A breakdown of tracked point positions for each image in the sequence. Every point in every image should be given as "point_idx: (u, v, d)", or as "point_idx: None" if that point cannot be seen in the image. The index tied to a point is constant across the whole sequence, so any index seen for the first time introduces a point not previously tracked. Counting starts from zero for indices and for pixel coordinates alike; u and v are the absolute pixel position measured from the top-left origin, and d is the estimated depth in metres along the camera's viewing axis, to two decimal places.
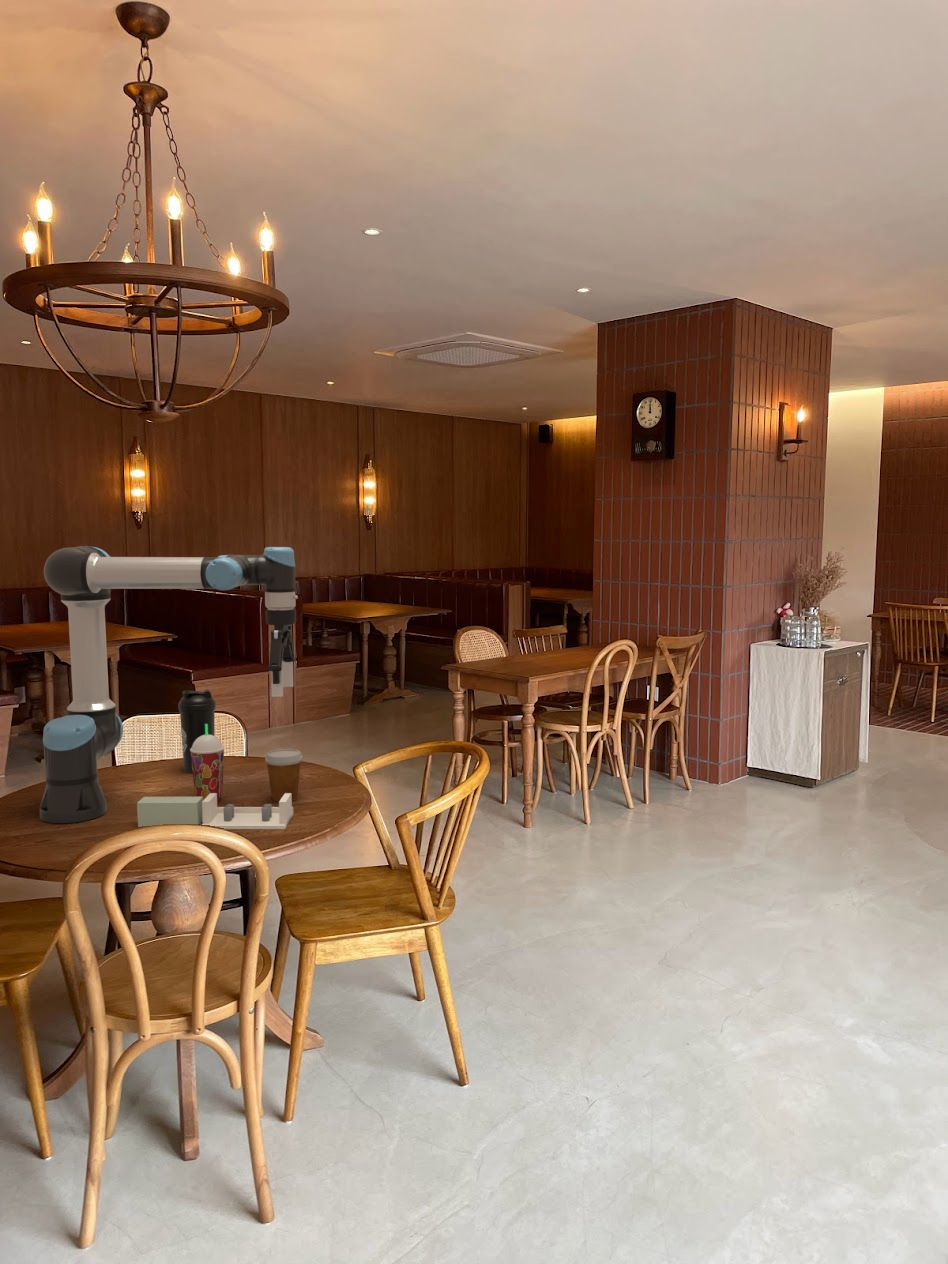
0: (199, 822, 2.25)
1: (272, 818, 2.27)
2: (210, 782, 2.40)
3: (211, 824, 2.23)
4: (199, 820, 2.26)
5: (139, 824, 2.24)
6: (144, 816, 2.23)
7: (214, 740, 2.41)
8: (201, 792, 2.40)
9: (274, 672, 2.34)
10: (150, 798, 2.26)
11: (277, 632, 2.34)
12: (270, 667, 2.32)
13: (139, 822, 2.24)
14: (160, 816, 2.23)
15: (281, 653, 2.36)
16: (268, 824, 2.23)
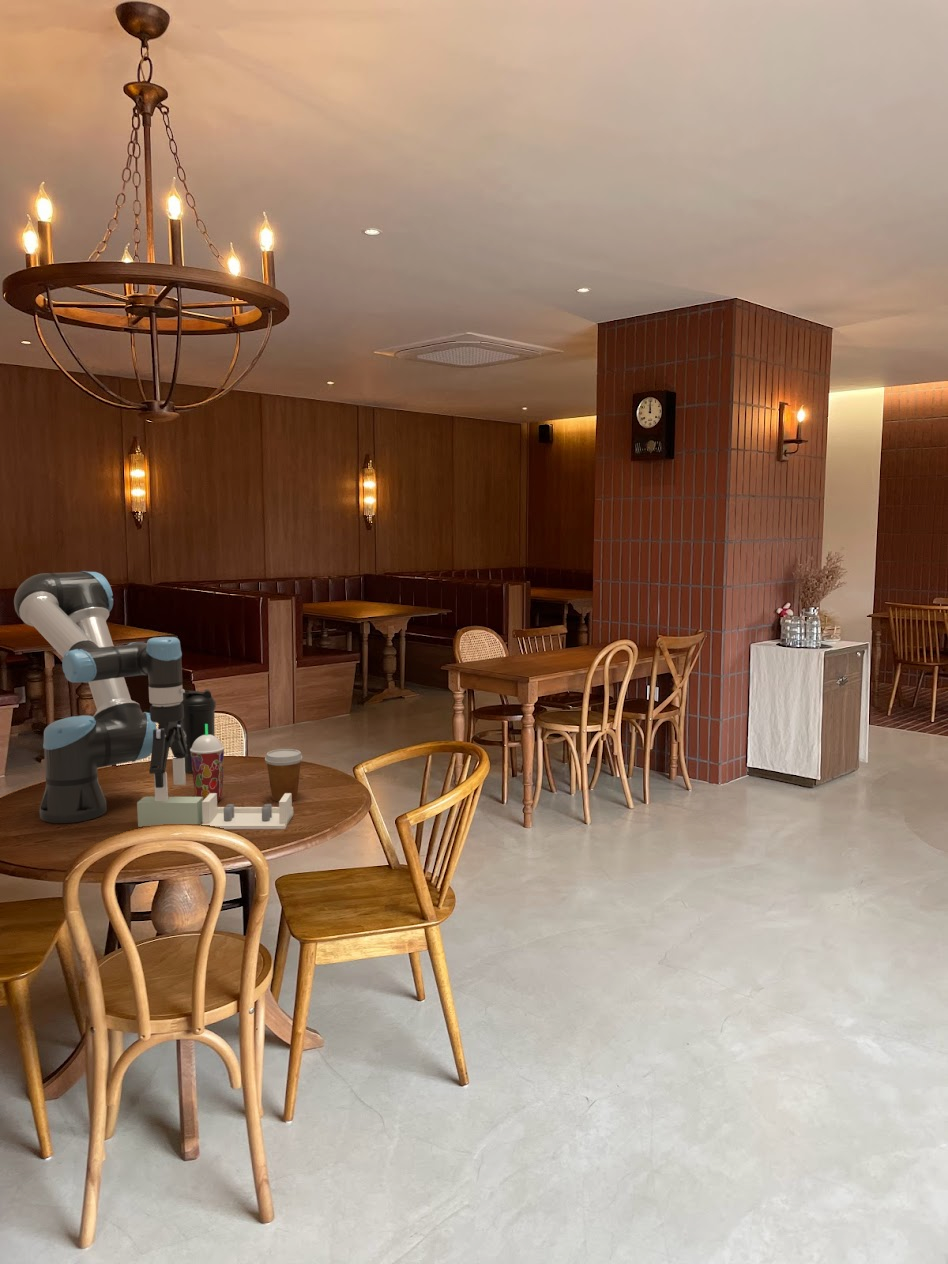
0: (199, 822, 2.25)
1: (272, 818, 2.27)
2: (210, 782, 2.40)
3: (211, 824, 2.23)
4: (199, 820, 2.25)
5: (139, 824, 2.24)
6: (144, 816, 2.23)
7: (214, 740, 2.41)
8: (201, 792, 2.40)
9: (156, 775, 2.16)
10: (150, 798, 2.26)
11: (160, 731, 2.17)
12: (151, 770, 2.14)
13: (139, 822, 2.24)
14: (160, 816, 2.23)
15: (165, 753, 2.18)
16: (268, 824, 2.23)
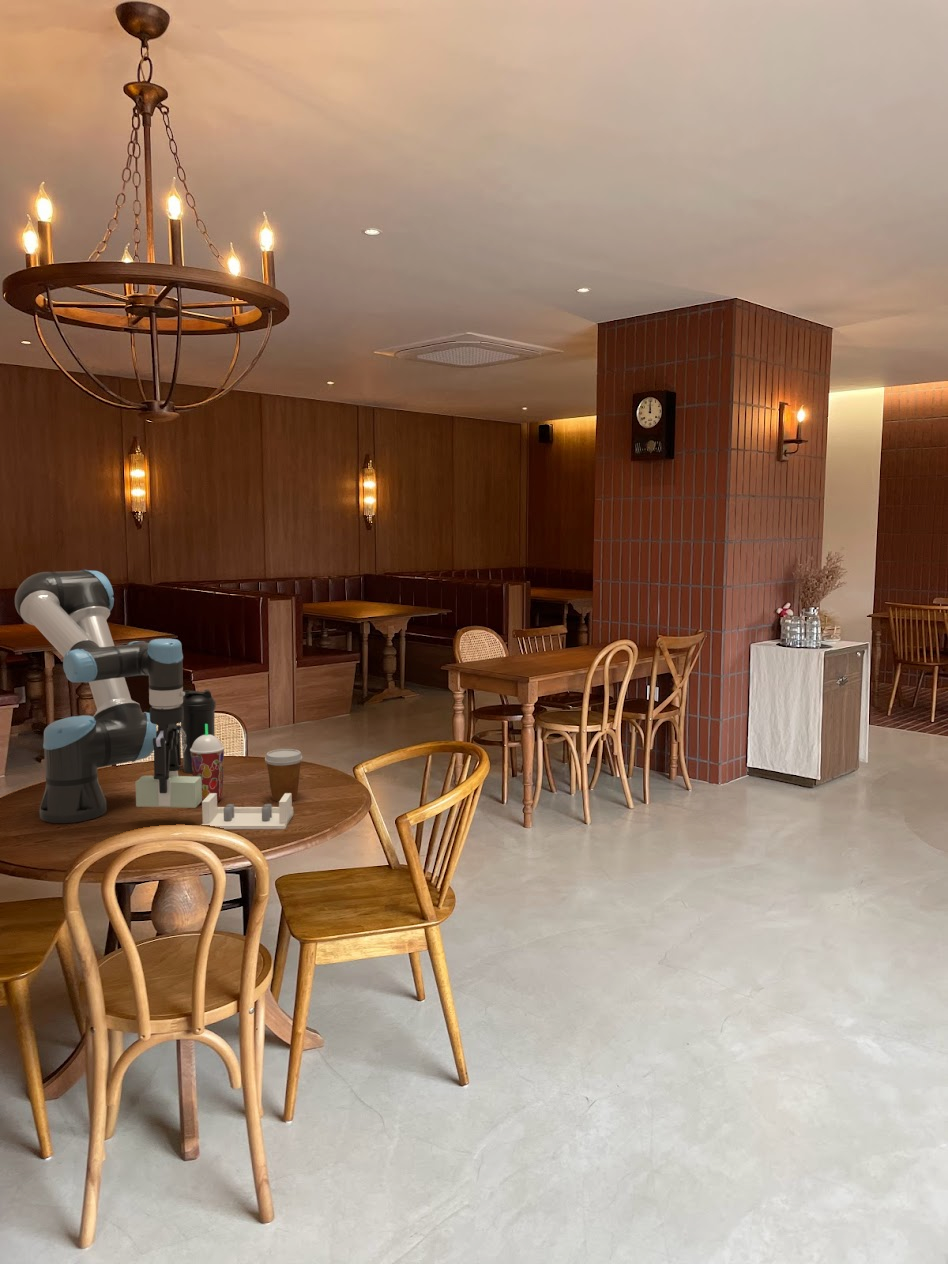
0: (197, 802, 2.25)
1: (272, 818, 2.27)
2: (210, 782, 2.40)
3: (211, 824, 2.23)
4: (197, 800, 2.25)
5: (137, 803, 2.24)
6: (142, 795, 2.23)
7: (214, 740, 2.41)
8: None
9: (161, 781, 2.21)
10: (149, 777, 2.26)
11: (159, 741, 2.17)
12: (156, 777, 2.19)
13: (137, 801, 2.24)
14: None
15: (167, 759, 2.21)
16: (268, 824, 2.23)
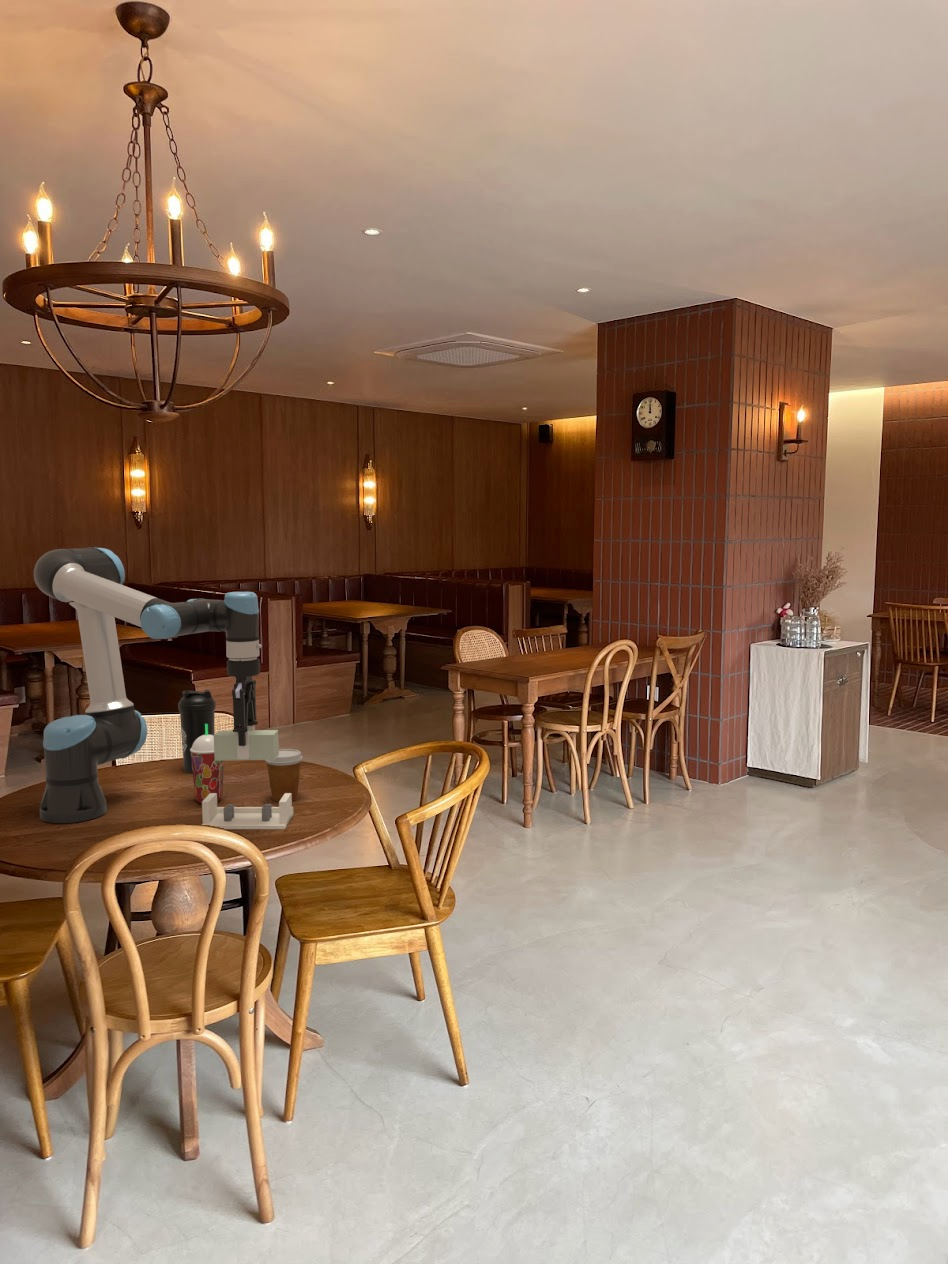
0: (275, 755, 2.24)
1: (272, 818, 2.27)
2: (210, 782, 2.40)
3: (211, 824, 2.23)
4: (275, 753, 2.24)
5: (216, 757, 2.23)
6: (221, 748, 2.23)
7: None
8: (201, 792, 2.40)
9: (240, 733, 2.20)
10: (226, 732, 2.26)
11: (239, 692, 2.17)
12: (235, 729, 2.18)
13: (216, 755, 2.23)
14: None
15: (245, 712, 2.21)
16: (268, 824, 2.23)
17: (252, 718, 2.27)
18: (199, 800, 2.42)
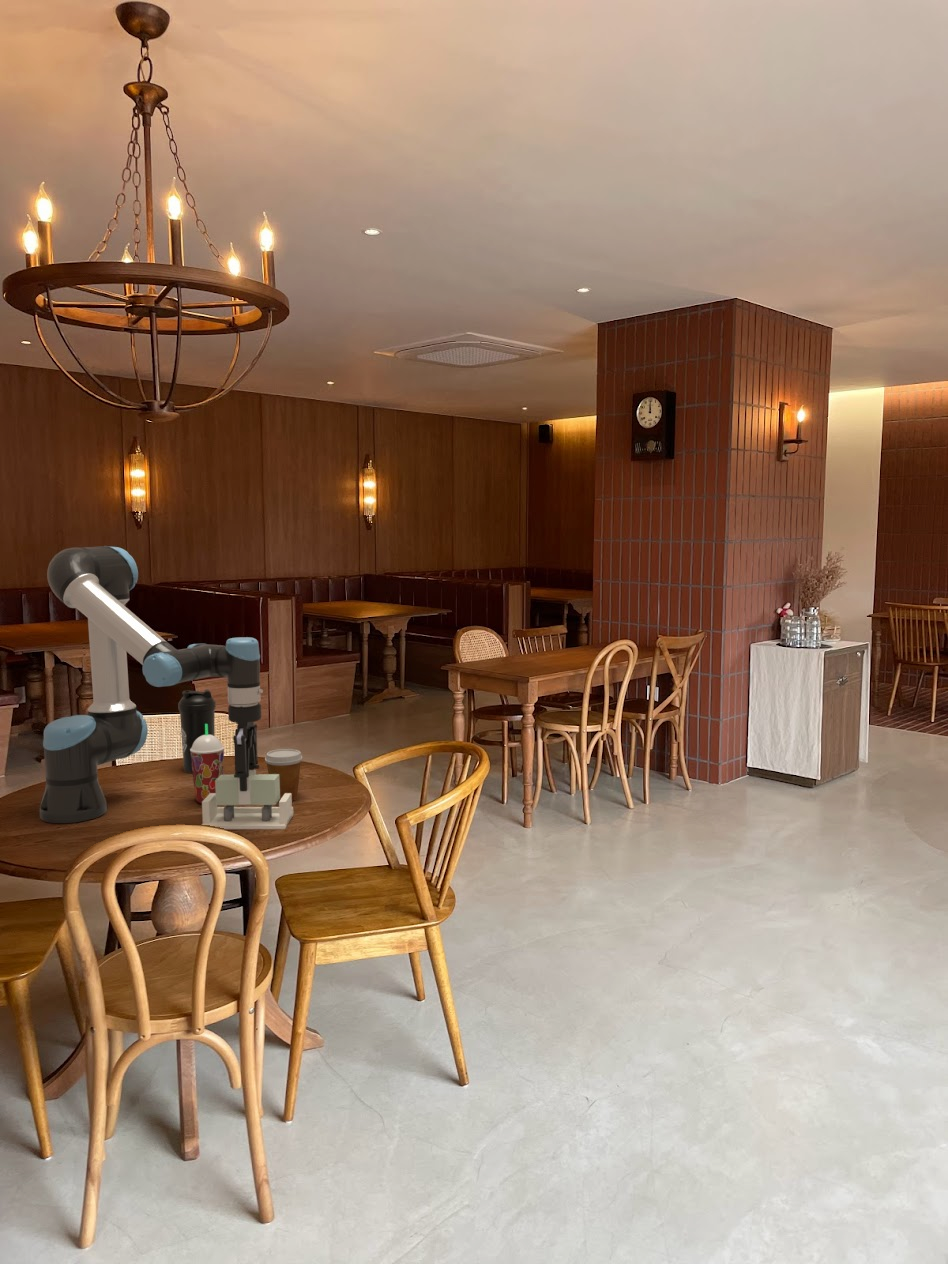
0: (276, 799, 2.25)
1: (272, 818, 2.27)
2: (210, 782, 2.40)
3: (211, 824, 2.23)
4: (277, 797, 2.26)
5: (217, 801, 2.24)
6: (222, 793, 2.24)
7: (214, 740, 2.41)
8: (201, 792, 2.40)
9: (241, 779, 2.21)
10: (227, 776, 2.27)
11: (240, 738, 2.18)
12: (236, 774, 2.20)
13: (217, 799, 2.24)
14: None
15: (247, 757, 2.22)
16: (268, 824, 2.23)
17: (253, 762, 2.28)
18: (199, 800, 2.42)
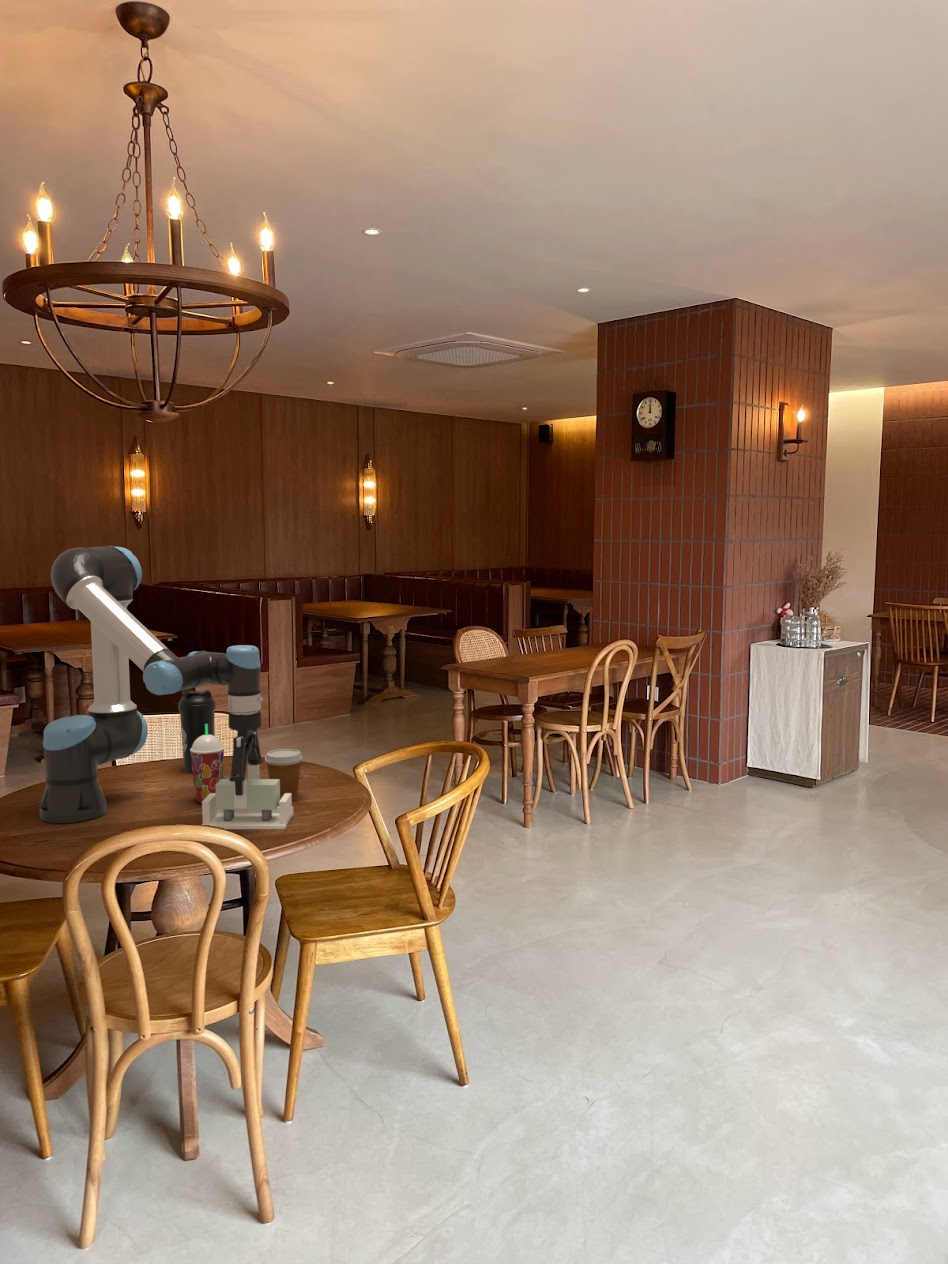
0: (276, 804, 2.25)
1: (272, 818, 2.27)
2: (210, 782, 2.40)
3: (211, 824, 2.23)
4: (277, 803, 2.26)
5: (217, 806, 2.24)
6: (222, 798, 2.24)
7: (214, 740, 2.41)
8: (201, 792, 2.40)
9: (236, 783, 2.17)
10: (228, 780, 2.27)
11: (240, 740, 2.18)
12: (232, 778, 2.16)
13: (217, 804, 2.24)
14: None
15: (244, 761, 2.20)
16: (268, 824, 2.23)
17: (256, 760, 2.32)
18: (199, 800, 2.42)
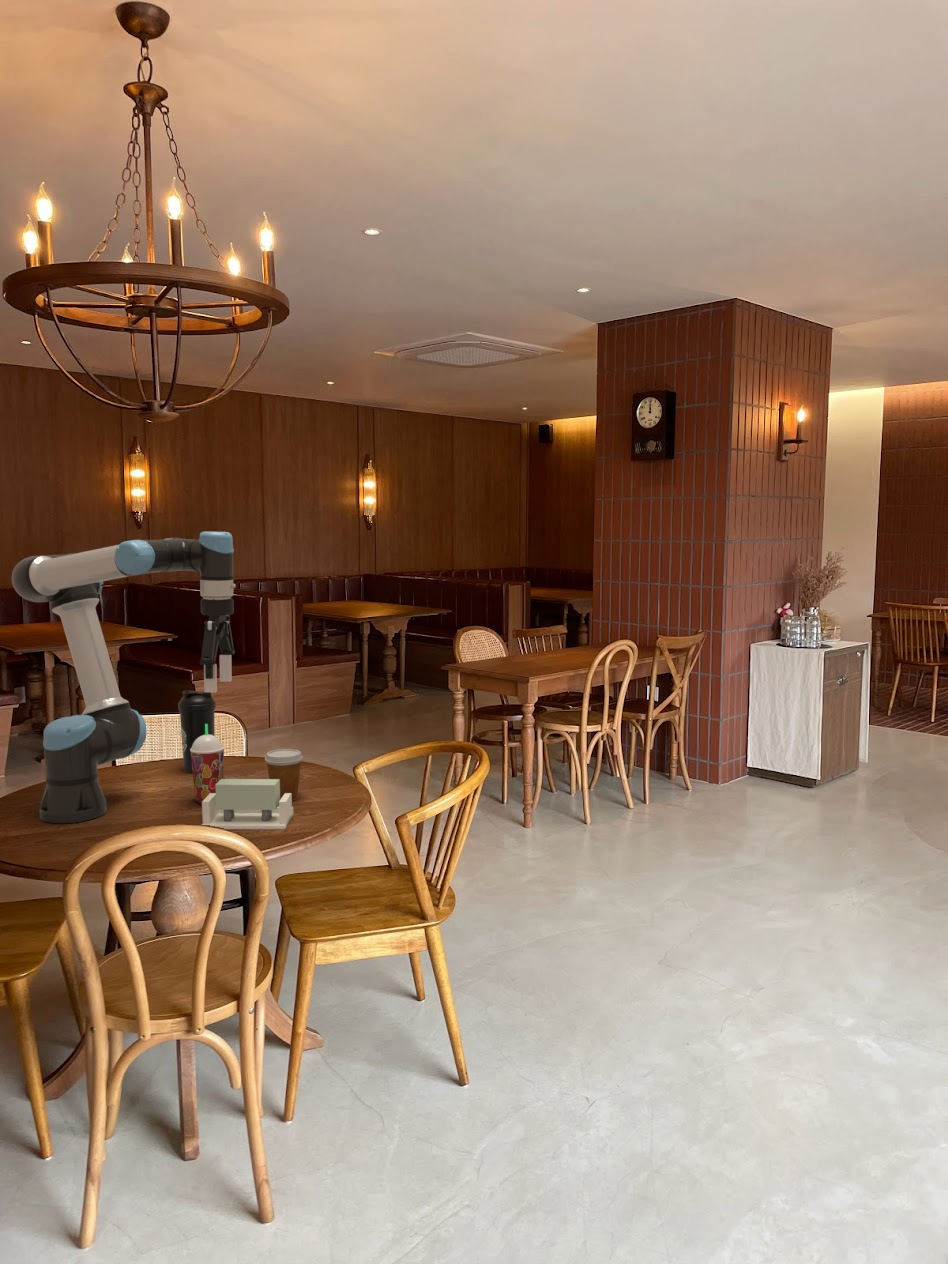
0: (276, 804, 2.25)
1: (272, 818, 2.27)
2: (210, 782, 2.40)
3: (211, 824, 2.23)
4: (277, 803, 2.26)
5: (217, 806, 2.24)
6: (222, 798, 2.24)
7: (214, 740, 2.41)
8: (201, 792, 2.40)
9: (207, 666, 2.18)
10: (228, 780, 2.27)
11: (211, 623, 2.18)
12: (202, 660, 2.16)
13: (217, 804, 2.24)
14: (238, 798, 2.24)
15: (215, 646, 2.20)
16: (268, 824, 2.23)
17: (229, 649, 2.32)
18: (199, 800, 2.42)
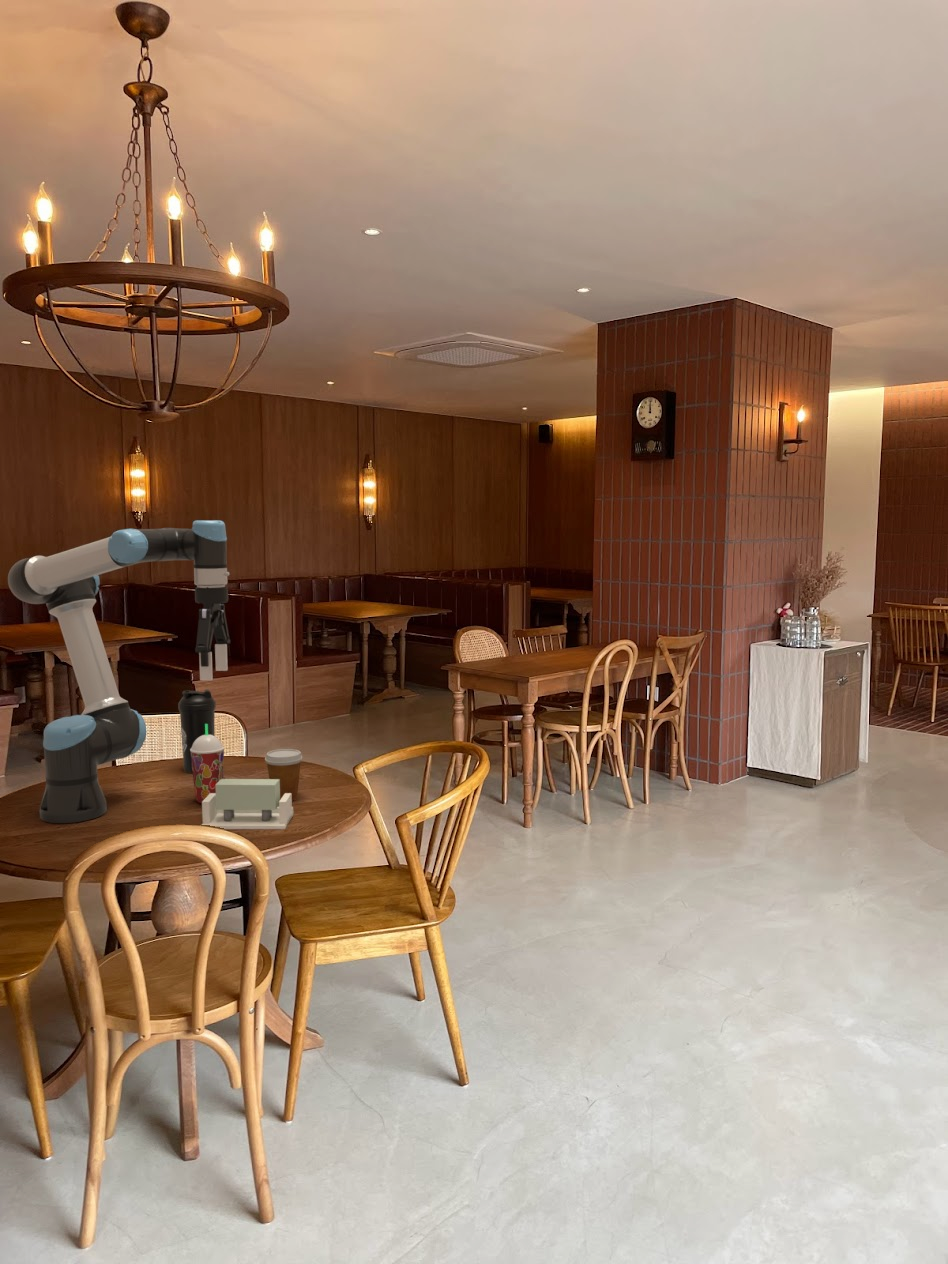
0: (276, 804, 2.25)
1: (272, 818, 2.27)
2: (210, 782, 2.40)
3: (211, 824, 2.23)
4: (277, 803, 2.26)
5: (217, 806, 2.24)
6: (222, 798, 2.24)
7: (214, 740, 2.41)
8: (201, 792, 2.40)
9: (202, 654, 2.18)
10: (228, 780, 2.27)
11: (205, 611, 2.18)
12: (197, 648, 2.16)
13: (217, 804, 2.24)
14: (238, 798, 2.24)
15: (210, 633, 2.20)
16: (268, 824, 2.23)
17: (224, 638, 2.32)
18: (199, 800, 2.42)
